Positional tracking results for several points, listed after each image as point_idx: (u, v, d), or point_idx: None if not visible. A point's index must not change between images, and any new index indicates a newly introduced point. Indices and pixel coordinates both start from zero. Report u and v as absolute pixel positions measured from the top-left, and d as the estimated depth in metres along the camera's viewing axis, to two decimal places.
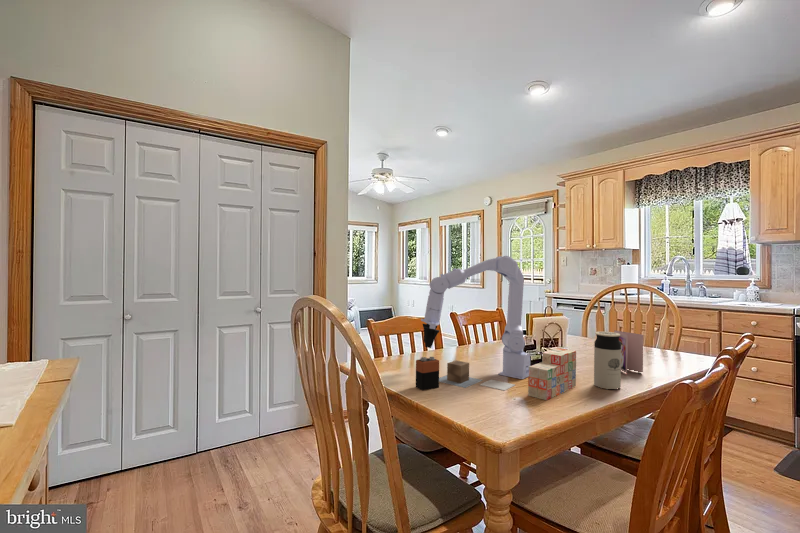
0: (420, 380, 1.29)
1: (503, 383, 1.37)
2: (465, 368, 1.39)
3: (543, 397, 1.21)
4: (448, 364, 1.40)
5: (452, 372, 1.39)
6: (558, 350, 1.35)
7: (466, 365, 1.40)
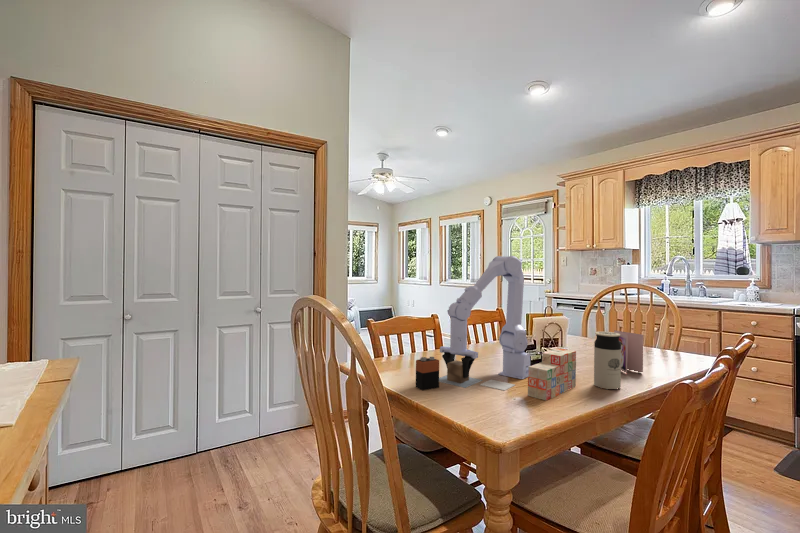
0: (420, 380, 1.29)
1: (503, 383, 1.37)
2: None
3: (543, 397, 1.21)
4: (448, 364, 1.40)
5: (452, 372, 1.39)
6: (558, 350, 1.34)
7: None
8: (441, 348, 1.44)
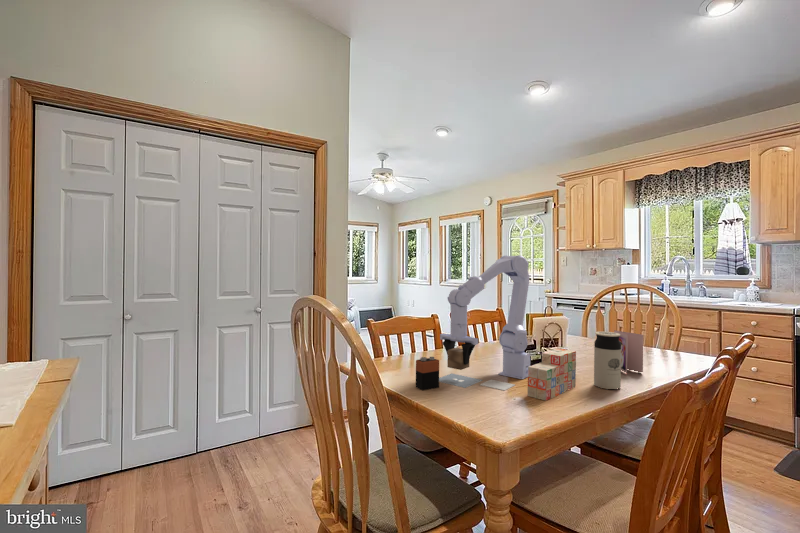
0: (420, 380, 1.29)
1: (503, 383, 1.37)
2: None
3: (542, 397, 1.21)
4: (448, 351, 1.40)
5: (453, 359, 1.39)
6: (558, 350, 1.34)
7: None
8: (441, 335, 1.44)
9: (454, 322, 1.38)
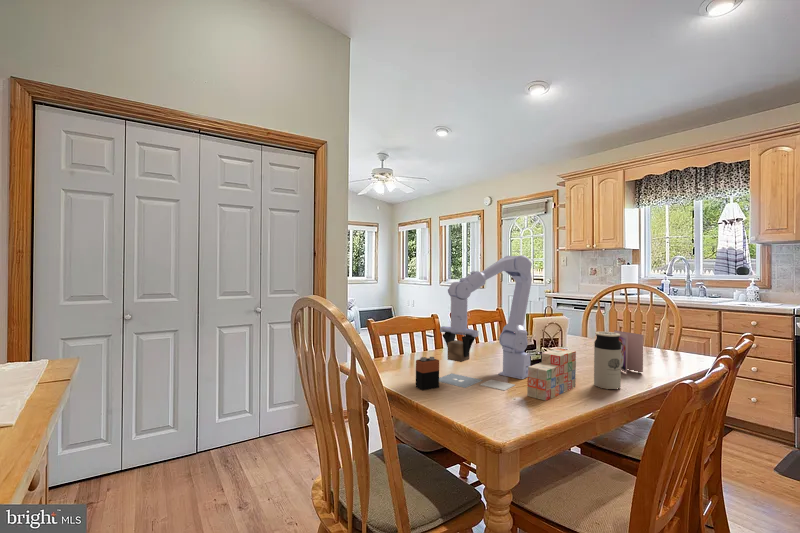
0: (420, 380, 1.29)
1: (503, 383, 1.37)
2: None
3: (542, 397, 1.21)
4: (448, 343, 1.40)
5: (453, 351, 1.39)
6: (558, 350, 1.34)
7: None
8: (441, 328, 1.44)
9: (454, 314, 1.38)
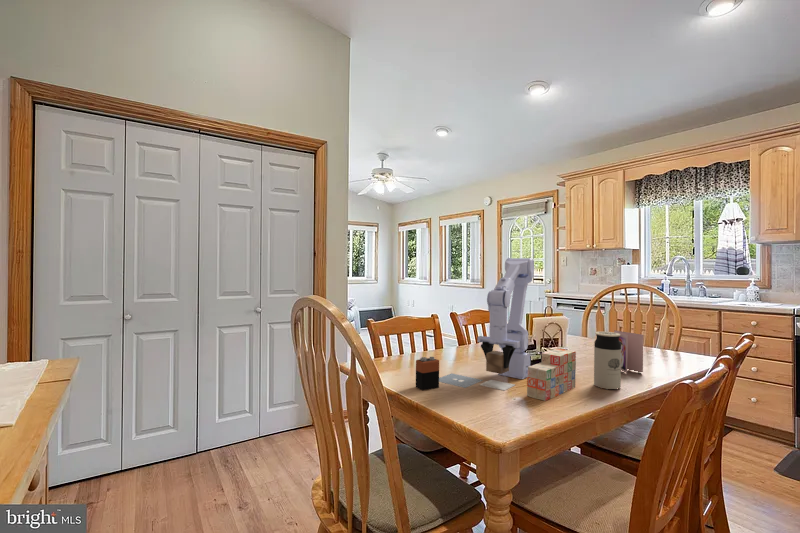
0: (420, 380, 1.29)
1: (503, 383, 1.37)
2: None
3: (542, 398, 1.21)
4: (487, 354, 1.35)
5: (492, 362, 1.33)
6: (557, 350, 1.34)
7: None
8: (479, 338, 1.39)
9: (499, 324, 1.32)
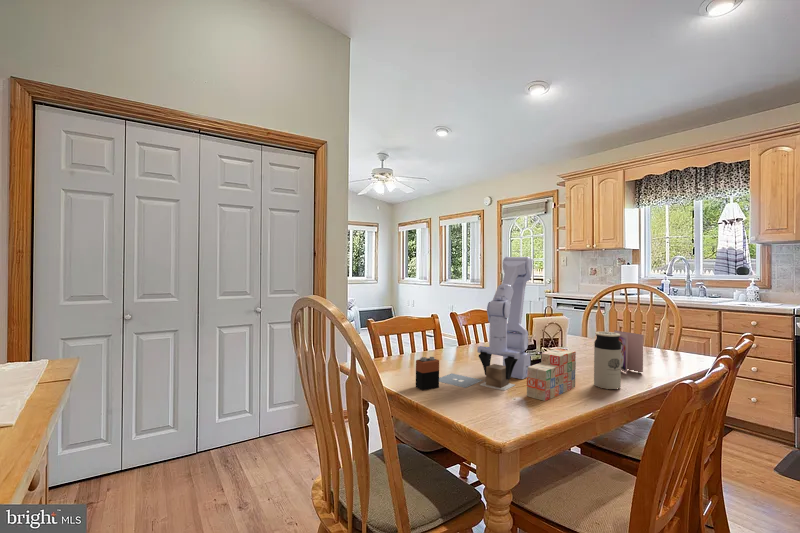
0: (420, 380, 1.29)
1: None
2: (505, 372, 1.34)
3: (542, 398, 1.21)
4: (487, 368, 1.35)
5: (492, 376, 1.33)
6: (557, 350, 1.34)
7: None
8: (479, 348, 1.39)
9: (499, 335, 1.32)
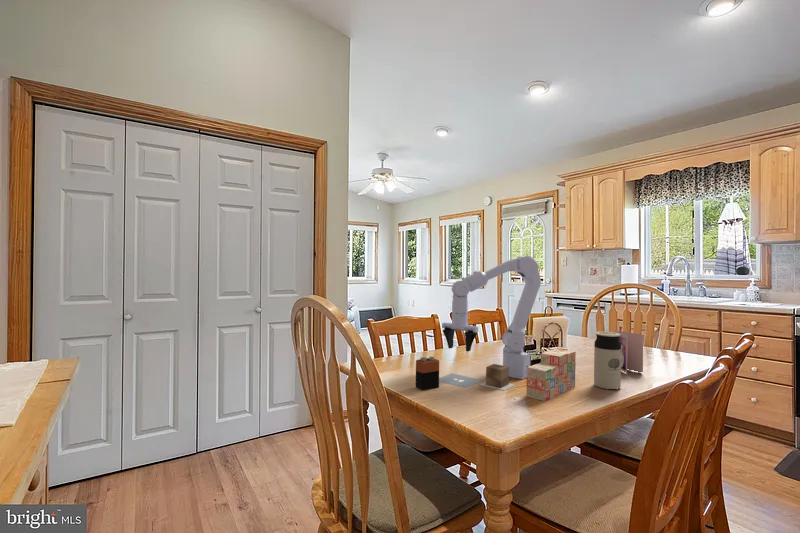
0: (420, 380, 1.29)
1: None
2: (505, 372, 1.34)
3: (541, 398, 1.21)
4: (487, 368, 1.35)
5: (492, 376, 1.33)
6: (557, 351, 1.34)
7: (506, 369, 1.34)
8: (443, 324, 1.53)
9: (453, 311, 1.48)
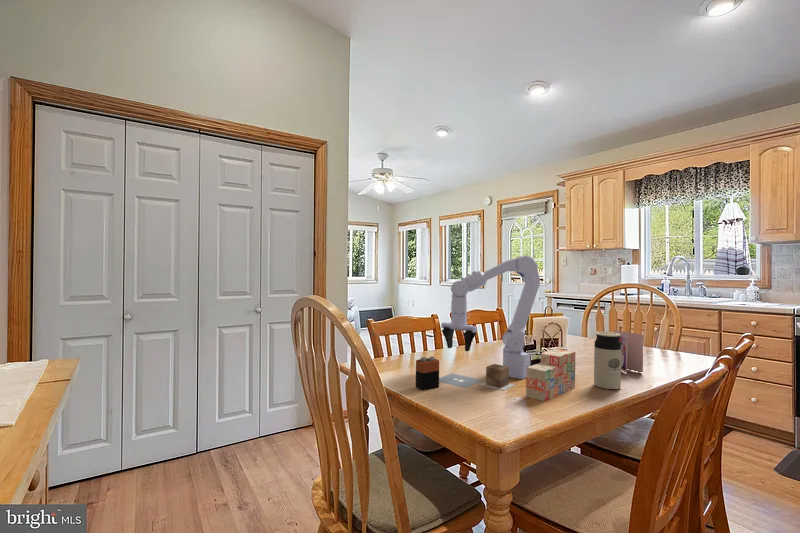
0: (420, 380, 1.29)
1: None
2: (505, 372, 1.34)
3: (541, 398, 1.20)
4: (487, 368, 1.35)
5: (492, 376, 1.33)
6: (557, 351, 1.34)
7: (506, 369, 1.34)
8: (442, 324, 1.53)
9: (452, 311, 1.49)
